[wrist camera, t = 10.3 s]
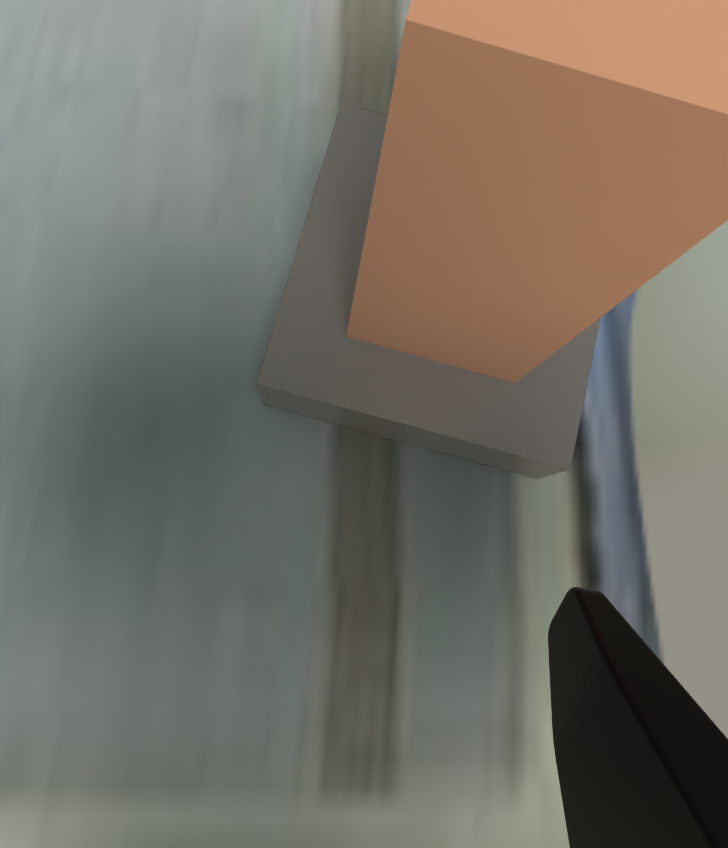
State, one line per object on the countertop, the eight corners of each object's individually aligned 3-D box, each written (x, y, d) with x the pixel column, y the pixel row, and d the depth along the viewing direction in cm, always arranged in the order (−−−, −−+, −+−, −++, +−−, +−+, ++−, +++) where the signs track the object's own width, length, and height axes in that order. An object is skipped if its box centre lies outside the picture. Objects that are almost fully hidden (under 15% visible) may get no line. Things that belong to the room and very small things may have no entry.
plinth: (536, 478, 23) (570, 469, 20) (263, 404, 23) (256, 383, 20) (588, 227, 25) (626, 185, 22) (337, 155, 25) (341, 102, 22)
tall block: (515, 382, 20) (827, 142, 8) (346, 336, 20) (406, 19, 8) (548, 227, 21) (869, -192, 9) (388, 181, 21) (499, -309, 9)
